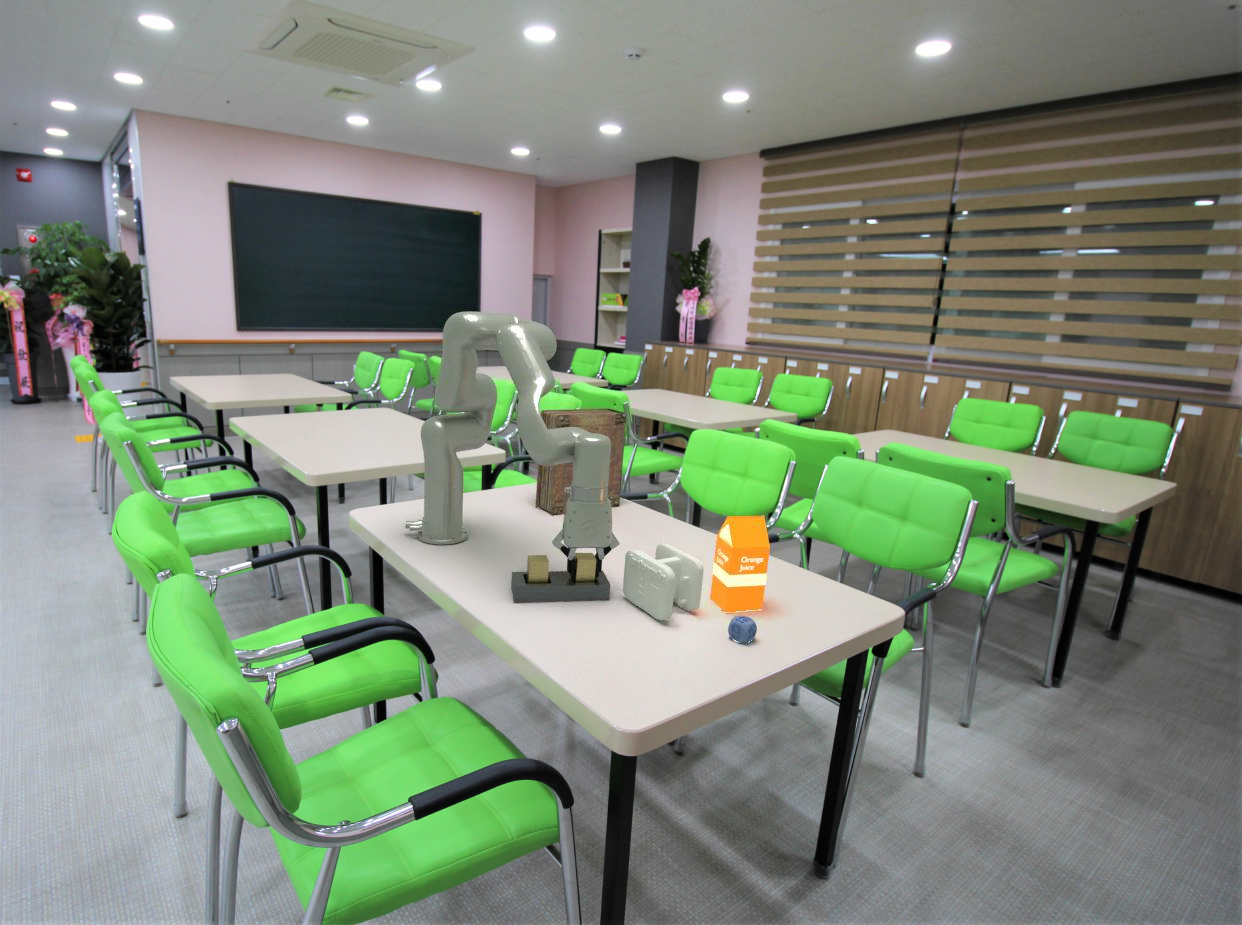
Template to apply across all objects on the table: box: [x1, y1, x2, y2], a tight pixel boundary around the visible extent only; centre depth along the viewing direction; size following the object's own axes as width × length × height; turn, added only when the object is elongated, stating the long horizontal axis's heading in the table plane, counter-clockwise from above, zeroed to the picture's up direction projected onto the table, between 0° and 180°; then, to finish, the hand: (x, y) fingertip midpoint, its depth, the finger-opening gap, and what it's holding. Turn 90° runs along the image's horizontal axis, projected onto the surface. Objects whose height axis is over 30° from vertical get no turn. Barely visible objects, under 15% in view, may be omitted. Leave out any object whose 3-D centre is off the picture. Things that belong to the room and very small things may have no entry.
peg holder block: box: [510, 554, 611, 604], centre depth 143 cm, size 20×8×8 cm, turn 103°
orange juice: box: [709, 515, 771, 612], centre depth 143 cm, size 8×9×20 cm
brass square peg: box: [572, 552, 596, 583], centre depth 144 cm, size 4×4×8 cm
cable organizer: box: [622, 543, 705, 621], centre depth 140 cm, size 15×11×12 cm
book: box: [535, 408, 628, 517], centre depth 206 cm, size 25×9×30 cm, turn 128°
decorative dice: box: [727, 615, 758, 644], centre depth 129 cm, size 4×4×4 cm
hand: (583, 574), depth 144 cm, fingers open, 4 cm apart
